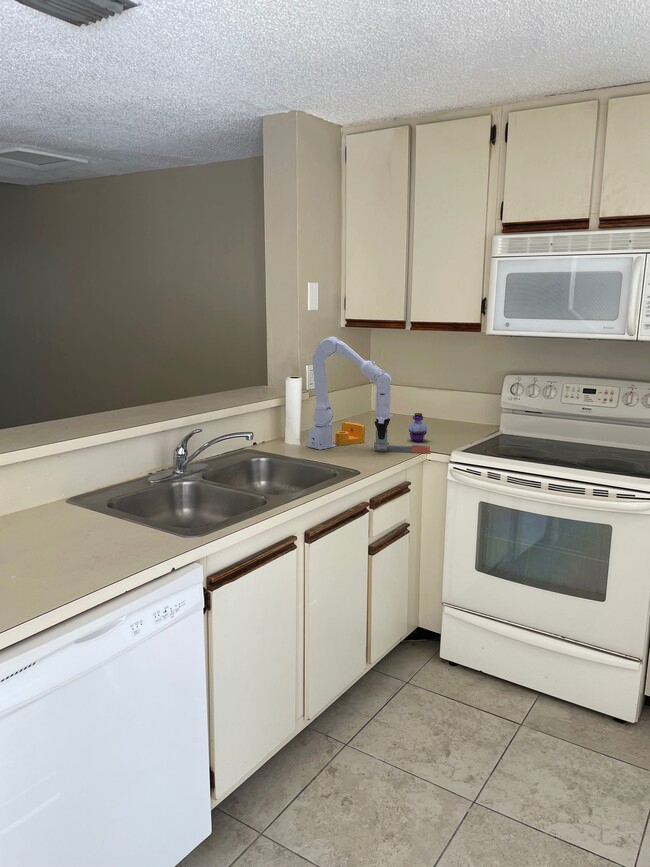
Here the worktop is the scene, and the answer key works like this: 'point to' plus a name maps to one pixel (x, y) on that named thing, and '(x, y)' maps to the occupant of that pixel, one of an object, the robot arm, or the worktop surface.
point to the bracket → (350, 434)
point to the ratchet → (401, 448)
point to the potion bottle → (417, 428)
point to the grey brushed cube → (379, 441)
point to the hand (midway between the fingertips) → (381, 437)
